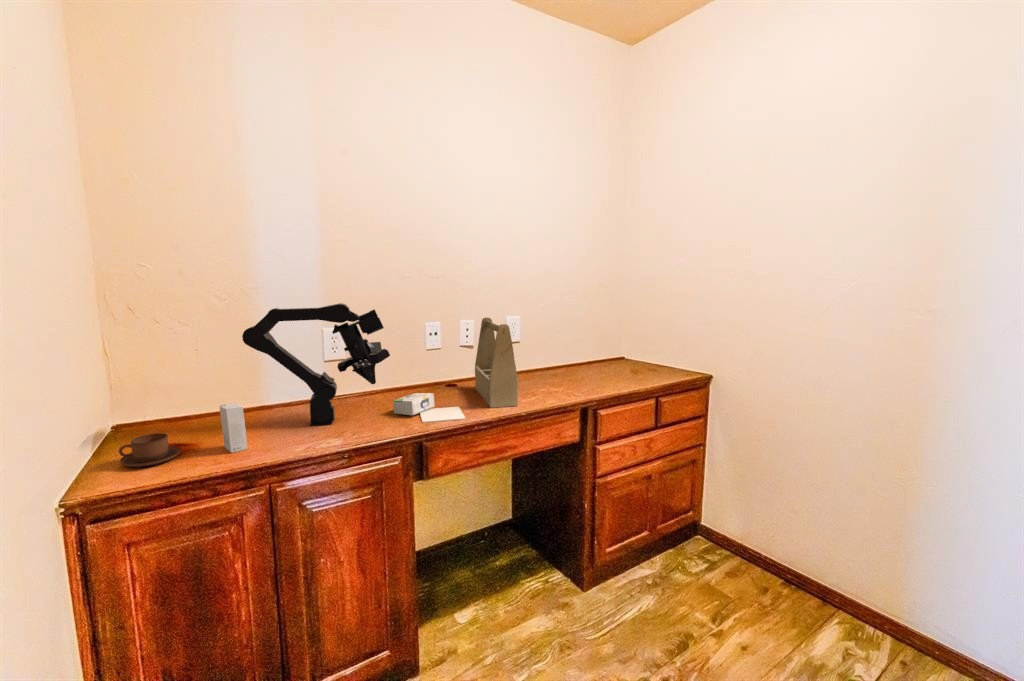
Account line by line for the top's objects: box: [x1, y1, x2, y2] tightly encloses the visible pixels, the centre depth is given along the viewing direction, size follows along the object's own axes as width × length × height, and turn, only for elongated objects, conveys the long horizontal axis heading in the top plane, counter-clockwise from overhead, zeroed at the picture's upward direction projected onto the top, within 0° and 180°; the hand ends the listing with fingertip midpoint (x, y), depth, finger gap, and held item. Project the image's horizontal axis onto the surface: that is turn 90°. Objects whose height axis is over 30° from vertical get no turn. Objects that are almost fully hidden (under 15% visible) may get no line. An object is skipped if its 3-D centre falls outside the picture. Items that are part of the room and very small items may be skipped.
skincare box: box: [219, 402, 248, 454], centre depth 125 cm, size 6×4×12 cm
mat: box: [419, 406, 467, 424], centre depth 157 cm, size 14×14×1 cm
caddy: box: [474, 317, 519, 409], centre depth 178 cm, size 29×11×30 cm, turn 15°
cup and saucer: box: [118, 433, 181, 468], centre depth 117 cm, size 12×12×6 cm
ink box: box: [392, 392, 436, 416], centre depth 160 cm, size 9×5×12 cm
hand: (374, 383), depth 152 cm, fingers closed
